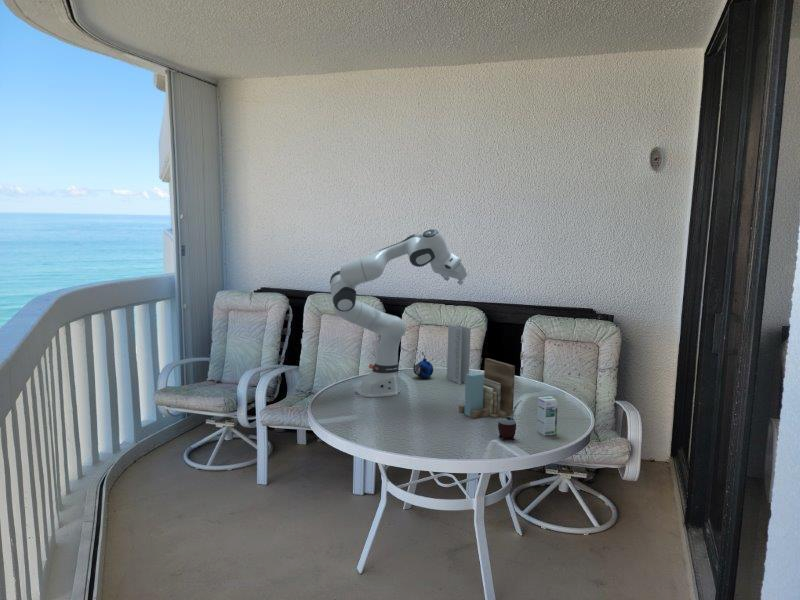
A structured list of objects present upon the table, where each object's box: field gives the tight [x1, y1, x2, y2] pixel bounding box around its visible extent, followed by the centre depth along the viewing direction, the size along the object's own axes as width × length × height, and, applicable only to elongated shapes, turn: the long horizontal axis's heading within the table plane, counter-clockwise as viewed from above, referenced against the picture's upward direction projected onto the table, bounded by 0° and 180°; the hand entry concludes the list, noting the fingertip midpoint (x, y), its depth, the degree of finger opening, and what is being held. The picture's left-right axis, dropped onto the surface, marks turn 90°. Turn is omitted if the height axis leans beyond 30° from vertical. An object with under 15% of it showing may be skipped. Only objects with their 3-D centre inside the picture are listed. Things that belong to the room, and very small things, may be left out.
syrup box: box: [536, 396, 559, 437], centre depth 231 cm, size 6×6×14 cm
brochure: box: [446, 324, 472, 385], centre depth 312 cm, size 14×6×30 cm, turn 25°
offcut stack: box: [483, 378, 501, 414], centre depth 259 cm, size 5×13×13 cm, turn 31°
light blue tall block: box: [463, 372, 484, 417], centre depth 254 cm, size 7×4×18 cm, turn 122°
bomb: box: [412, 351, 434, 379], centre depth 318 cm, size 10×11×15 cm
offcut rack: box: [458, 357, 516, 419], centre depth 257 cm, size 19×18×22 cm
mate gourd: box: [497, 399, 522, 441], centre depth 224 cm, size 8×8×15 cm
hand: (454, 281), depth 273 cm, fingers open, 8 cm apart
